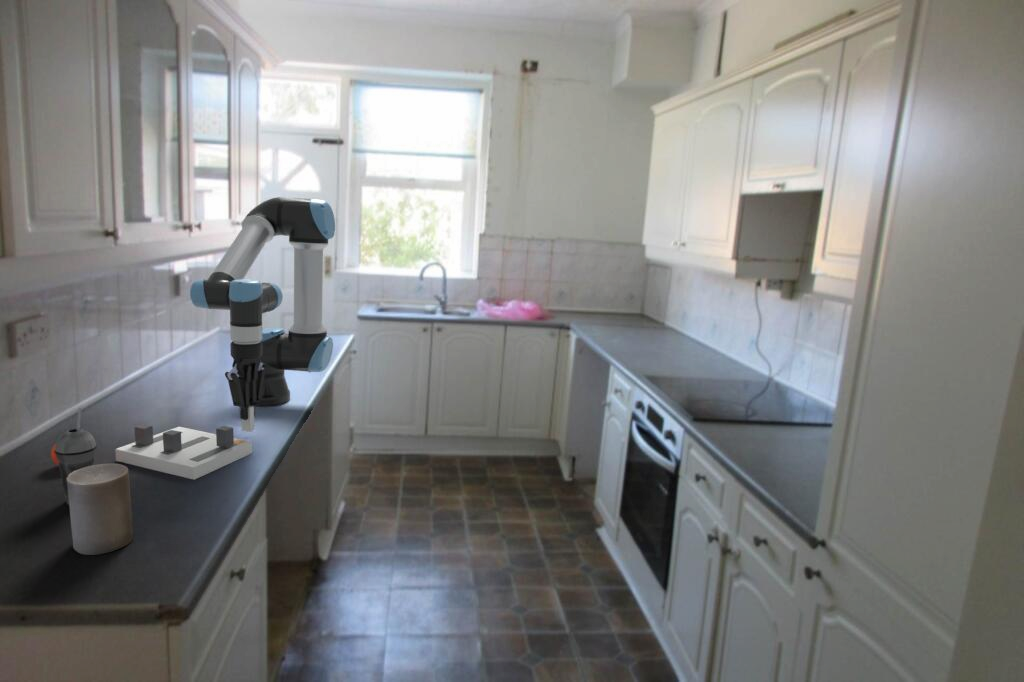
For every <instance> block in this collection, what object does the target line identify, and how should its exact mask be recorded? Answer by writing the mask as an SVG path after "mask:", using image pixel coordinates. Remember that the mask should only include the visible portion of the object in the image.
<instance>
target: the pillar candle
mask: <svg viewBox="0 0 1024 682" xmlns="http://www.w3.org/2000/svg"><path fill="white" fill-rule="evenodd" d="M129 471H130V470H129V468H128V466H126V465H123V464H121V463H101V464H94V465H93V466H88V467H84V468H81V469H79V470H76V471H73V472H72V473H70V474H69V475H68V477H67V478H66V479H67V486H68V497H69V505H68V506H69V516H70V517H69V518H70V528H71V536H72V537H71V538H72V548H73V550H74V551H75V552H77V553H79V554H80V555H84V556H95V555H97V556H98V555H103V554H108V553H110V552H111V553H112V552H114V551H116V550H117V551H118V550H119V549H121V548H123V547H125V546H128V545H129V544H130V543H131V542H132V541H133V540H134V537H135V536H134V532H133V529H134V528H133V525H134V524H133V513H132V499H131V488H130V487H131V486H130V473H129Z"/></svg>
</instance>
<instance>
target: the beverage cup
mask: <svg viewBox="0 0 1024 682" xmlns="http://www.w3.org/2000/svg"><path fill="white" fill-rule="evenodd" d="M77 410H78V411H77V420H76V428H72V429H69V430H66V431H65V432H63V433H62V434H61V435H60V436H59V437H58V439H57V440H56V442H55V444H56V446H55V451H54V452H55V453H56V457H57V460H58V462H59V465H58V466H59V472H60V477H61V482H62V487H63V492H64V497H65V500H66V504H67V505H68V506H69V497H68V486H67V479H66V478H67V477H68V475H69V474H70V473H72V472H73V471H76V470H79V469H81V468H84V467H88V466H93V465H95V457H96V452H97V447H98V446H97V444H96V440H95V438H94V436H93V435H92V434H91V433H90V432H89V431H87V430H85V429H82V428H81V417H82V415H81V414H82V408H81V407H78V408H77Z"/></svg>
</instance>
